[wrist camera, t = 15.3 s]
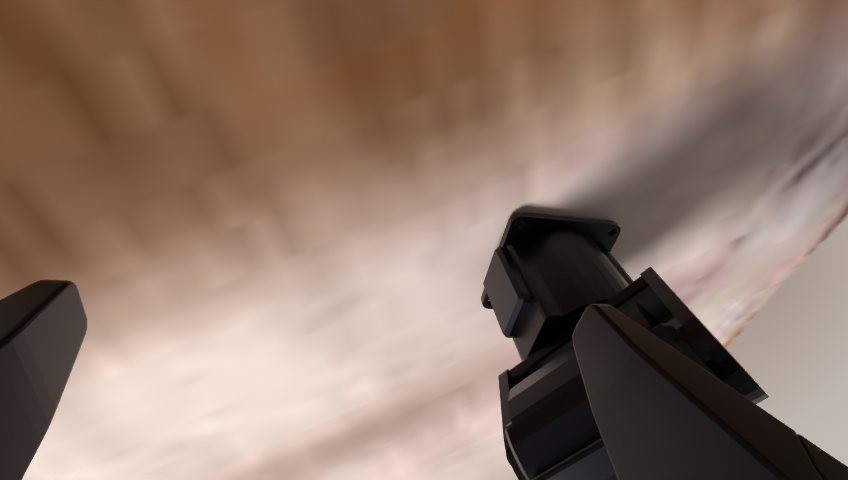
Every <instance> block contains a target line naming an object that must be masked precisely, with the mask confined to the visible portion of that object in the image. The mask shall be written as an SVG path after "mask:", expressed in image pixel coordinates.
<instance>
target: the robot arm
mask: <svg viewBox="0 0 848 480" xmlns="http://www.w3.org/2000/svg"><path fill="white" fill-rule="evenodd" d="M520 220H522V221H521V223H519V224H516V222H518V221H520ZM611 229H612V230H611ZM609 230H611V231H610V232H608V231H609ZM619 233H620V227H619V226H618V225H617V224H616V223H615V222H613V221H606V220H595V219H585V218H574V217H564V216H553V215H543V214H533V213H522V212H518V213H515V214H513V215H512V216H510V218H509V220H508V223H507V226H506V229H505V231H504V234H503V237H502V240H501V243H500V246H499V247H498V248H497V249H496V250H495V252H494V254H493V257H492V260H491V263H490V266H489V269H488V272H487V275H486V277H485V280H484V287H485V288H484V291H483V294H482V297H481V301H482V304H483V306H484V307H485V308H487V309H493V310H494V312H495V315H496V317H497V320H498V322H499V325H500V327H501V330H502V332H503V334H504V335H505V336H506V337H507V338H513V340H514V343H515V345H516V348H517V350H518V352H519V355H520V357H521V360H522V362H520V363H519V364H518V365H516V366H515V367H513V368H512V369H511V370H508V369H507V370H506V371H504V372H503V373H502V374H500V375H499V388H500V399H501V411H502V423H503V435H504V443H505V449H506V456H507V460H508V462H509V463H510V465H511V466H512V468H513V470H514V472H515V474H516V476H517V477H518V479H519V480H848V467H847V466H846V465H844V464H842V463H841V462H840V461H838V460H837V459H835V458H834V457H832V456H830V455H829V454H828V453H826V452H825V451H823V450H821V449H820V448H818V447H817V446H816V445H814V444H813V443H811V442H810V441H808V440H807V439H805V438H804V437H803V436H801V435H799V434H796V433H795V431H794V430H792V429H791V428H789V427H788V426H787V425H785V424H784V423H782V422H781V421H779V420H777V419H776V418H775V417H773V416H772V415H770V414H769V413H767V412H766V411H765V410H763V409H762V408H760V407H759V406H757V405H756V404H757V403H759V402H761V401H763V400H764V399H766V398H768V397H769V396H768V395H767V394H766V393H765V392H764V391H763V390H762V388H761V387H760V386H759V385H758V384H757V383H756V382H755V381H754V379H753V378H752V377H751V376H750V375H749V374H748V373H747V372H746V371H745V369H744V368H743V367H742V366H741V365H740V364H739V363H738V362H737V361H736V359H735V358H734V357H733V356H732V355H731V354H730V353H729V352H728V350H727V349H726V348H725V347H724V346H723V345H722V344H721V343H720V342H719V341H718V340H717V338H716V337H715V336H714V335H713V334H712V333H711V332H710V331H709V330H708V329H707V327H706V326H705V325H704V324H703V323H702V322H701V321H700V320H699V319H698V318H697V317H696V315H695V314H694V313H693V312H692V311H691V310H690V309H689V308H688V307H687V306H686V305H685V303H684V302H683V301H682V300H681V299H680V298H679V297H678V296H677V295H676V294H675V293H674V292H673V290H672V289H671V288H670V287H669V286H668V285H667V284H666V283H665V282H664V281H663V280H662V279H661V277H660V276H659V275H658V274H657V273H656V272H655V271H654V270H653V269H652V268H651V267H649V268H648V269H647V270H645V271H644V272H642V273H641V274H640V275H641V277H639V278H638V279H637V280H635V281H633V280H632V279H631V277H630V276H629V275H628V274H627V273H626V271H625V270H624V269H623V268H622V267H621V265H620V264H619V263H618V262H617V260H616V259H615V258H614V257H613V256H612V254H611V253H610V251H611V249H612V247H613V245H614V243H615V241H616V239H617V237H618V235H619ZM488 300H490V301H488ZM86 330H87V317H86V314H85V311H84V307H83V304H82V301H81V298H80V295H79V291H78V289H77V286H76V285H75V284H74V283H73V282H71V281H64V280H40V281H37V282H35V283H33V284H31V285H29V286H27V287H25V288H23V289H21V290H19V291H17V292H15V293H13V294H11V295H9V296H7V297H6V298H4V299H2V300H0V480H22V478H23V476H24V474H25V472H26V470H27V468H28V466H29V465H30V463H31V461H32V459H33V457H34V455H35V453H36V451H37V449H38V447H39V446H40V444H41V442H42V440H43V438H44V436H45V434H46V432H47V430H48V428H49V426H50V424H51V421H52V419H53V416H54V414H55V412H56V409H57V407H58V404H59V402H60V399H61V396H62V394H63V391H64V389H65V386H66V383H67V381H68V378H69V376H70V373H71V371H72V368H73V365H74V363H75V360H76V358H77V355H78V352H79V350H80V347H81V345H82V342H83V339H84V337H85V334H86Z"/></svg>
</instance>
